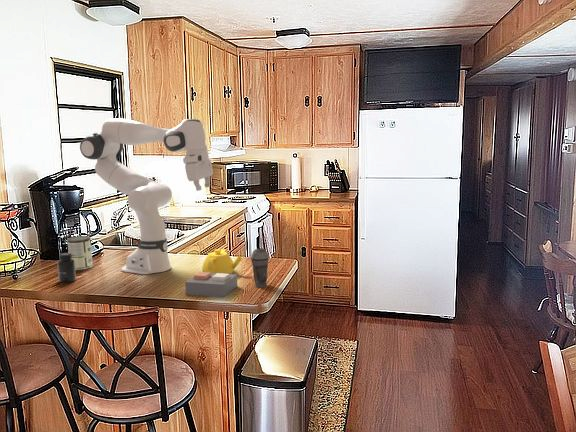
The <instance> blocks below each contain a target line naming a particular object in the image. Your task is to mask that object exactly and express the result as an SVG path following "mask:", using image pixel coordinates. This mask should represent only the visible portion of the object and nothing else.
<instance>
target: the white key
mask: <svg viewBox="0 0 576 432" xmlns="http://www.w3.org/2000/svg"><path fill="white" fill-rule="evenodd" d="M212 278H213V281H226V280H228V279H229V274H225V273H217V274H215V275H214V276H212Z"/></svg>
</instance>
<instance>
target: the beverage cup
mask: <svg viewBox="0 0 576 432" xmlns="http://www.w3.org/2000/svg"><path fill="white" fill-rule="evenodd" d="M263 240H264V237H263V236H262V237H261V241H260V247H257V248H255V249H254V250H253V251H252V253H251V256H250V259H251V264H252V271H253V280H254V285H255V287H256V288H265V287H267V280H268V265H269V260H270V259H269V258H270V257H269V253H268V252H267V250H265V248H263Z"/></svg>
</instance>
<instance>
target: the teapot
mask: <svg viewBox="0 0 576 432" xmlns="http://www.w3.org/2000/svg"><path fill="white" fill-rule="evenodd" d="M242 260H243V257H242V256H240V255H238V256H236V258H235V259H234V261H233V259H232V257H231V256H230V255H229V253H228V251H227V249H223V248H222V249H219V248H217V249H214V251H212V252H209V253H208V254H207V255H206V257H205V258H204V261H203V263H202V269H201V272H208V273H225V274H233V273H234V272H235V270H236V269H235V268H237V267H238V265H240V262H242Z"/></svg>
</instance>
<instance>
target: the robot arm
mask: <svg viewBox="0 0 576 432" xmlns="http://www.w3.org/2000/svg"><path fill="white" fill-rule="evenodd" d="M202 123H203V122H202V121H201V120H199V118H198V119H197V118H186V119H183V120H182V121H181V123H179V124H178V125H177V126H175V127H173V128H165V127H158V126H154V125H150V124H146V123H143V122H139V121H136V120H132V119H126V118H109V119H106V120H105V121H104V122H103V124H102V126H101V131H100V132H99V133H98V132H94V133H92V134H90V135H87V136H86V137H84V138H83V139H82V140H81V141H80V143H79V149H80V153H81V154H82V156H83V157H84V158H86V159H87V160H88V159H89V160H96V163H95V164H94V165H95V166H94V171H95V173H96V174H97V175H98V177H99V178H101V179H102V180H103V181H104V182H105V183H106V184H108V185H109V186H111V187H112V188H114V189H115V190H116V191H118V192H120V193H121V194H123V195H126V196H127V204H128V205H129V208H131V209H132V210H133V212H135V214H136V217H137V220H138V223H139V232H140V239H139V240H138V241H135V243H136V244H135V245H138V246H137V248H136V249H135V250H133V251H132V252H131V253H130V254H129V255H127V256H126V257H127V258H126V263H125V265H123V266H122V267H121V272H124V273H133V274H139V275H150V274H154V273H155V274H157V273H162V272H166V271H169V270H170V269H172V265H171V262H170V259H169V255H168V254H169V253H168V238H167V235H166V234H167V233H166V223H165V220H164V219H163V218H162V217H161V214H160V212H159V209H160V208H162V207H164V206H166V205H167V204H168V203H169V202H170V201H171V200H172V196H173V192H172V189H171V188H170V187H169V186H168V185H167V184H164V183H160V182H158V181H155V180H153V179H151V178H148V177H145V176H143V175H141V174H140V173H137V172H135V171H134V170H132V168H129V167H127V166H126V165H124V164H123V163H122V162H120V161H119V160H118V159H120V157H121V156H122V154H121V153H122V152H123V149H124V145H127V146H128V145H129V146H137V145H138V146H139V145H144V144H151V143H163V145H164V147H165V148H166V149H167V150H168V151H170V152H175V153H180V152H183V151H186V154H185V156H184V157H183V159H182V161H183V164H184V165H185V168H184V169H185V175H186V178H187V180H188V182H193V185H194V186H195V190H196V191H201V190H202V186H201V184H200V180H202V179H204V187H205V188H209V187H211V184H210V183H211V176H213V175H214V168H213V163H212V161H211V159H210V157H209V151H208V147H207V144H206V135H205V134H206V133H205V129H204V128H205V127H204V126H203V124H202Z"/></svg>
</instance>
